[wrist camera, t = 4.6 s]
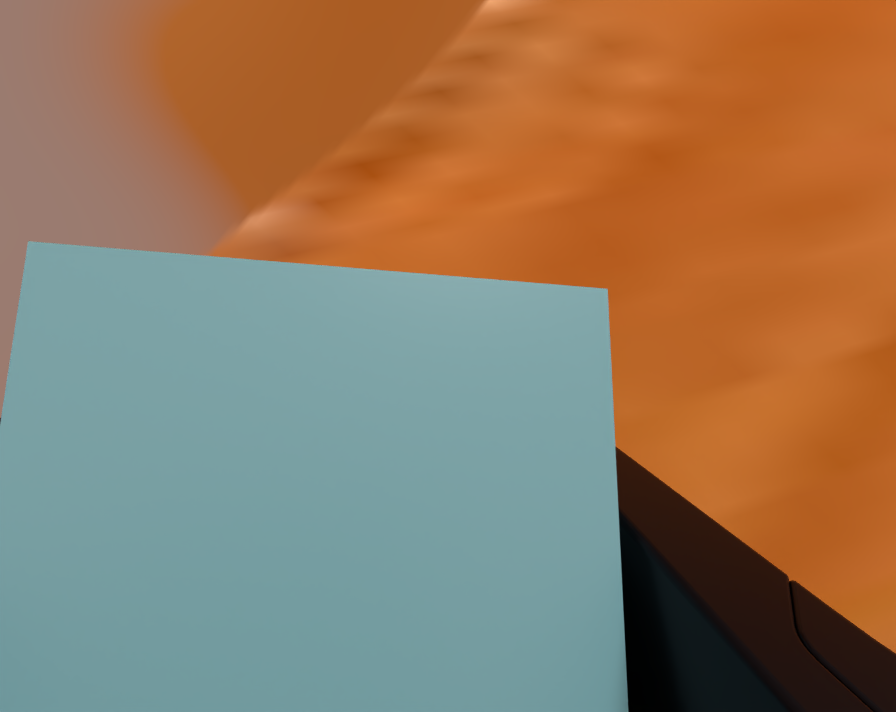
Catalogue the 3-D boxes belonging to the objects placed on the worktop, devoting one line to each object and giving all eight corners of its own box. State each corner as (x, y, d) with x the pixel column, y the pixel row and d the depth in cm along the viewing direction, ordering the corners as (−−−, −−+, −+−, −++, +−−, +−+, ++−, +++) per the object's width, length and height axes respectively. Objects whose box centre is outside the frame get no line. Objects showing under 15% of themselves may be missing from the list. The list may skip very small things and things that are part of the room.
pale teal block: (422, 647, 14) (637, 888, 5) (171, 657, 13) (-86, 984, 4) (425, 413, 15) (607, 288, 6) (193, 404, 14) (27, 241, 5)
